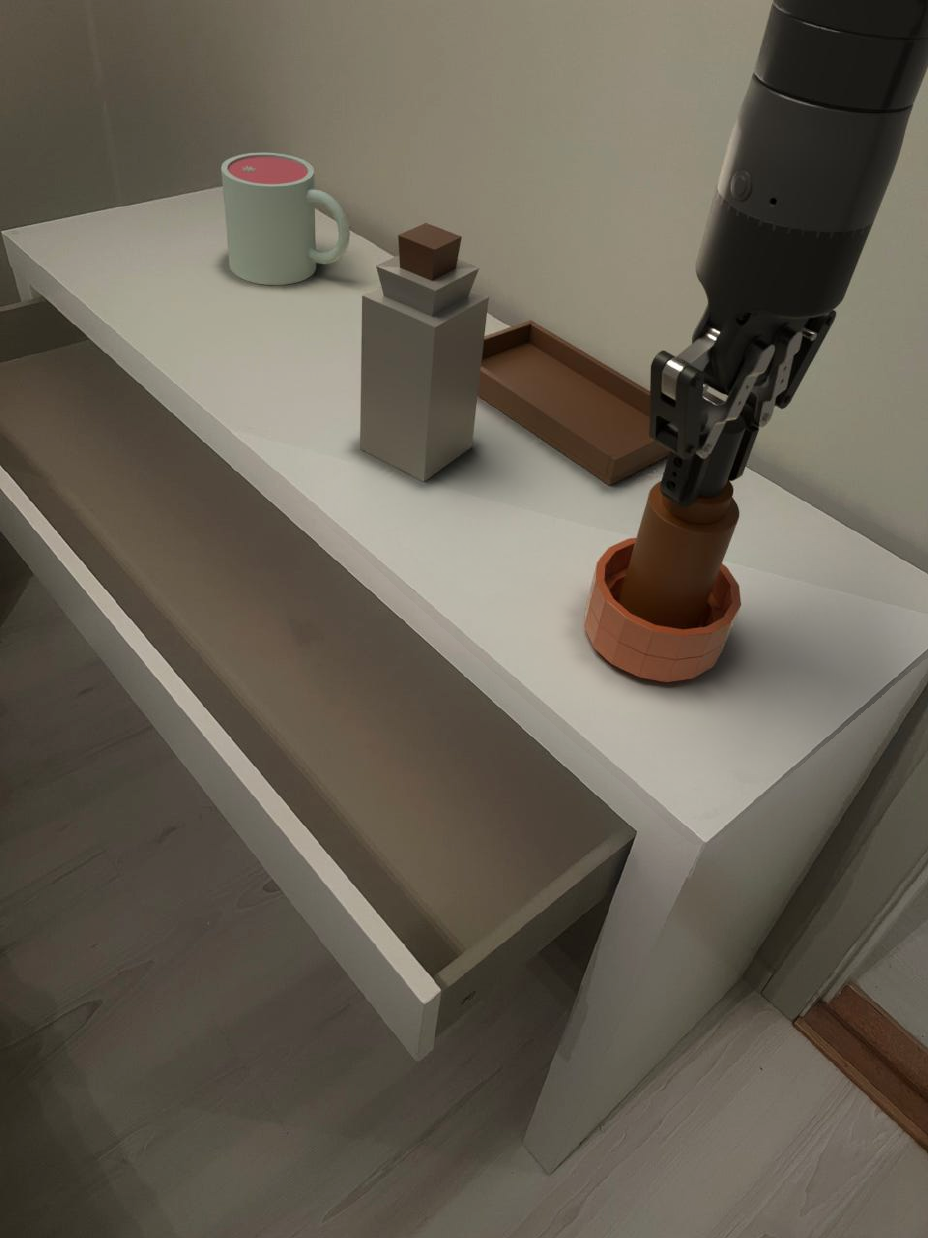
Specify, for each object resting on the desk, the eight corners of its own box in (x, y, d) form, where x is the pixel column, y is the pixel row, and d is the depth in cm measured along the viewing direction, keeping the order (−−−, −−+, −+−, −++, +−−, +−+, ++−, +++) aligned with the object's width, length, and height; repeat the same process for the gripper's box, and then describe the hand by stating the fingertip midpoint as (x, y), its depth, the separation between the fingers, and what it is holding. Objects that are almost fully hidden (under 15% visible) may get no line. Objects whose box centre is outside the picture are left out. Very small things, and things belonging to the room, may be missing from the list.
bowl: (715, 600, 68) (735, 548, 65) (722, 698, 61) (745, 646, 58) (586, 579, 69) (599, 526, 65) (579, 674, 62) (593, 620, 58)
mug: (212, 270, 98) (202, 172, 92) (259, 240, 105) (253, 145, 98) (327, 304, 96) (326, 204, 89) (368, 270, 102) (370, 175, 95)
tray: (690, 444, 83) (698, 419, 81) (609, 485, 77) (615, 459, 76) (527, 343, 93) (530, 319, 92) (445, 373, 88) (447, 348, 86)
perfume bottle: (409, 416, 82) (421, 208, 69) (471, 446, 80) (495, 237, 67) (359, 448, 78) (362, 234, 65) (423, 481, 75) (439, 265, 63)
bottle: (691, 608, 67) (766, 401, 55) (694, 665, 63) (775, 455, 51) (614, 595, 67) (671, 387, 55) (611, 651, 63) (673, 439, 51)
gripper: (777, 254, 38) (674, 565, 50) (941, 192, 46) (817, 476, 58) (640, 192, 42) (574, 496, 54) (812, 144, 50) (721, 420, 62)
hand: (700, 484), depth 56 cm, fingers closed on bottle, 4 cm apart
